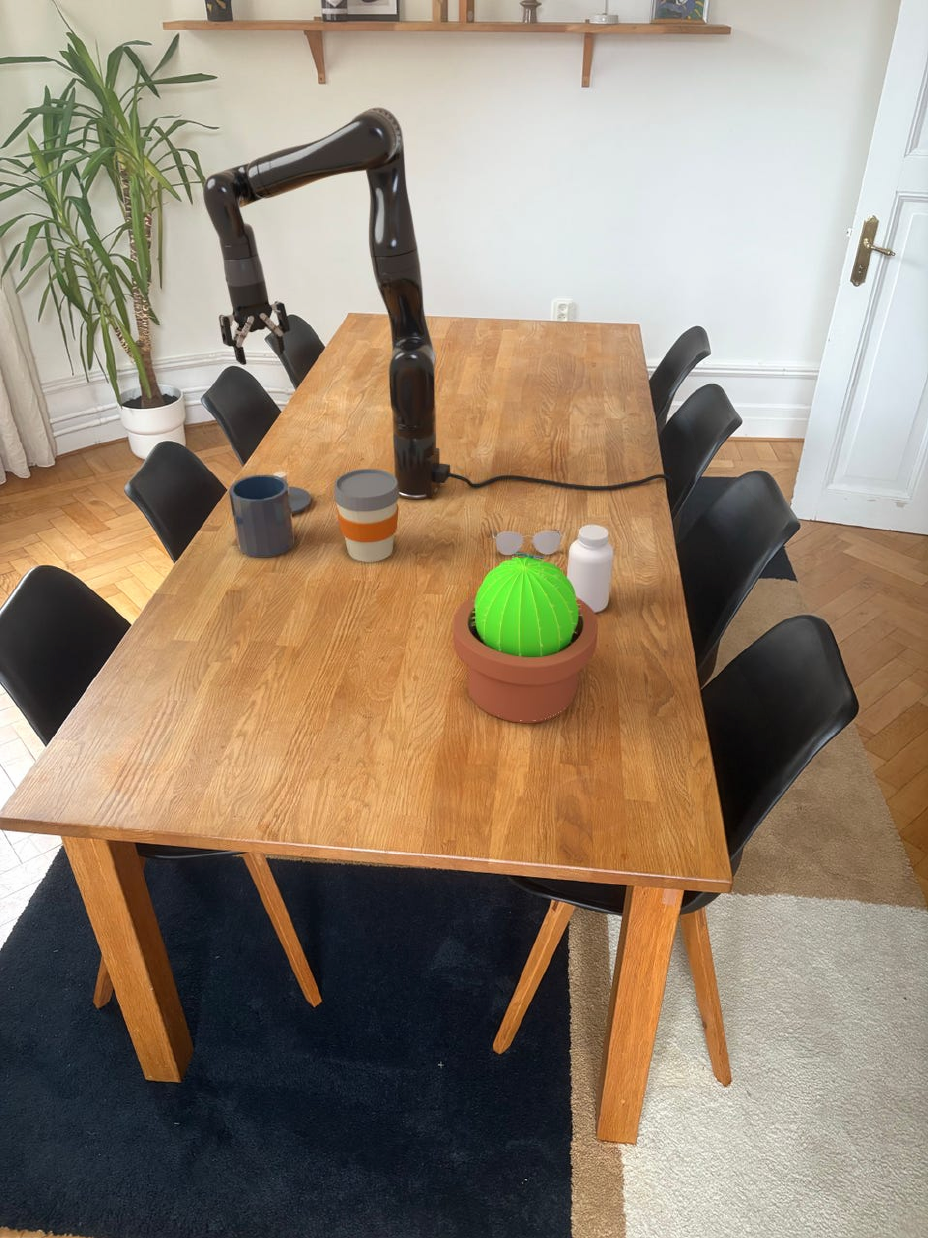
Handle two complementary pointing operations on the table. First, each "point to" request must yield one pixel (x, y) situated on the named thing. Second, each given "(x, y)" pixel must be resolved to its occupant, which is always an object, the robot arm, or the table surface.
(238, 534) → the blue handleless cup
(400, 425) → the robot arm
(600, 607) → the pill bottle
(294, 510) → the lid
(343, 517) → the reusable coffee cup
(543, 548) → the sunglasses
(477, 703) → the potted cactus
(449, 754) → the table surface
